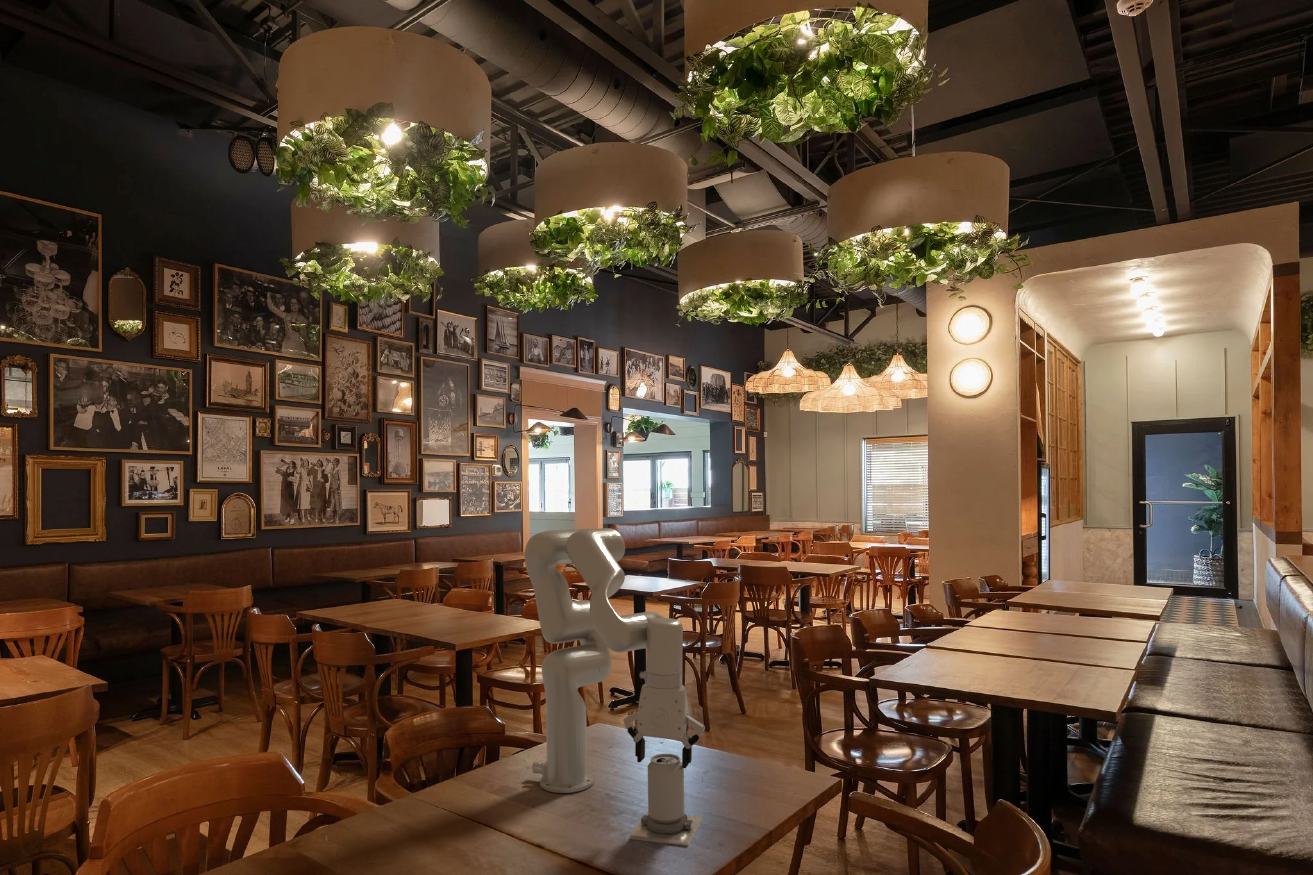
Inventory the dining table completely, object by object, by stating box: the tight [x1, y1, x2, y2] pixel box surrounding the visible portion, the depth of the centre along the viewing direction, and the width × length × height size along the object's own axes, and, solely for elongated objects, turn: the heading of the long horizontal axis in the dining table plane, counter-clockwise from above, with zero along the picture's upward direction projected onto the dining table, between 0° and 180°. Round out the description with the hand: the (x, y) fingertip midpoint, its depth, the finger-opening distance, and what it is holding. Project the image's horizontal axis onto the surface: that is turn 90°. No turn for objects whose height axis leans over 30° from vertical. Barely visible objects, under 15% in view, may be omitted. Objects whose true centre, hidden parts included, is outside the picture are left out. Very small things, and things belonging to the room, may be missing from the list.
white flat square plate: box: [629, 811, 703, 847], centre depth 162 cm, size 12×12×2 cm
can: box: [647, 753, 686, 823], centre depth 162 cm, size 8×8×12 cm
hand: (663, 762), depth 163 cm, fingers open, 9 cm apart
